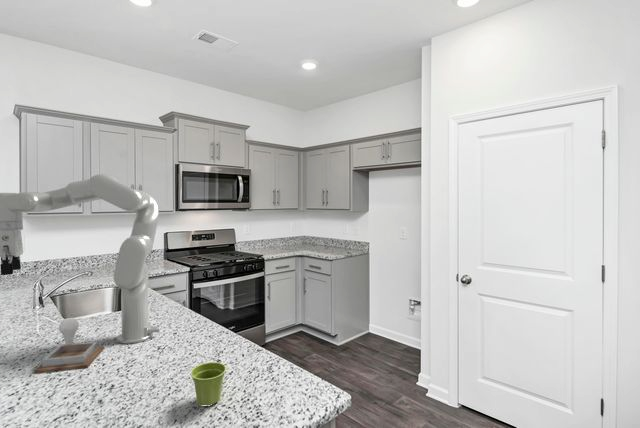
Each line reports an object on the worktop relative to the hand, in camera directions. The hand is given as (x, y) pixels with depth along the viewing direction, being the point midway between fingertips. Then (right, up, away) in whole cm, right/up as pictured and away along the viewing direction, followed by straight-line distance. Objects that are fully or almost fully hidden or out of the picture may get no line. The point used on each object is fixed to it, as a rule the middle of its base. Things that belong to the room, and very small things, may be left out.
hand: (11, 272), depth 125 cm
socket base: (+28, -29, -8) cm, 41 cm away
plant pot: (+84, -31, -31) cm, 95 cm away
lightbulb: (+19, -29, +3) cm, 35 cm away
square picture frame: (+28, -29, -8) cm, 41 cm away
